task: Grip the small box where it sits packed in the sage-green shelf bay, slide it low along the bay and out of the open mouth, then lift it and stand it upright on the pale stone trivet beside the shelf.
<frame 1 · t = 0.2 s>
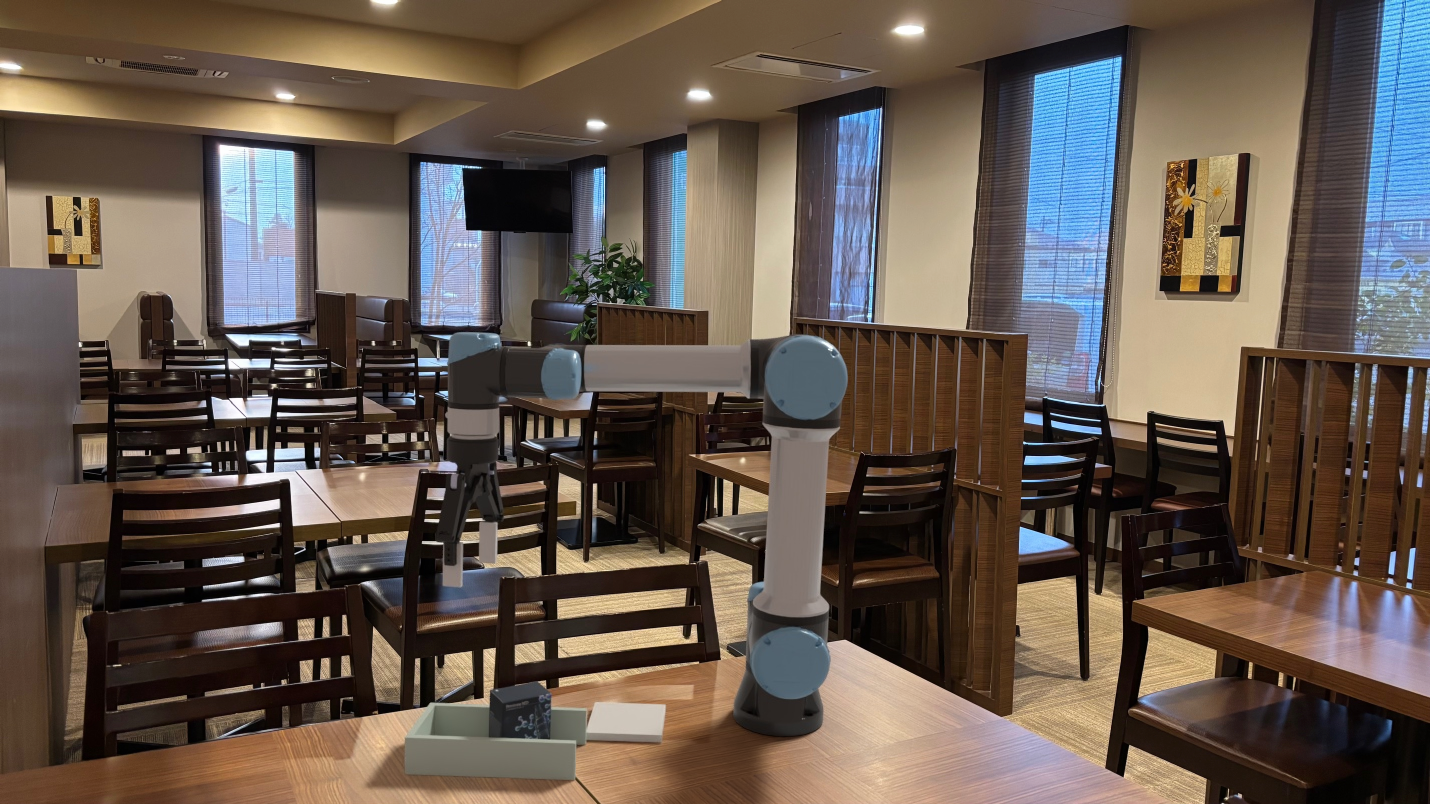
hand: (471, 574, 150), 27 cm above the table, fingers open, 13 cm apart
shelf bay: (499, 757, 148), on the table
box: (519, 759, 148), resting in shelf bay
trivet: (626, 724, 161), on the table
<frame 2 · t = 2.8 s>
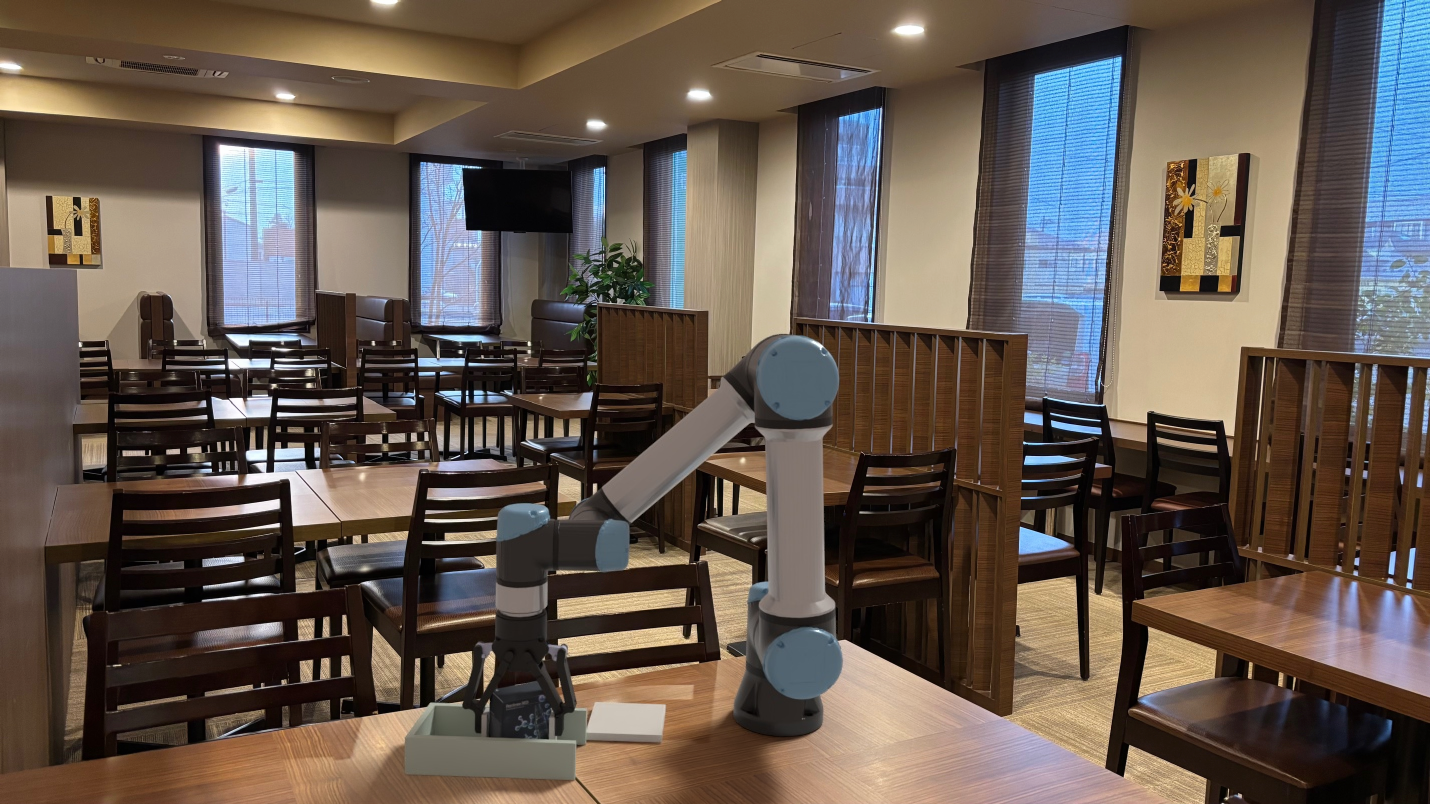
hand: (519, 754, 148), 1 cm above the table, fingers closed on box, 9 cm apart
box: (519, 759, 148), resting in shelf bay, touching gripper
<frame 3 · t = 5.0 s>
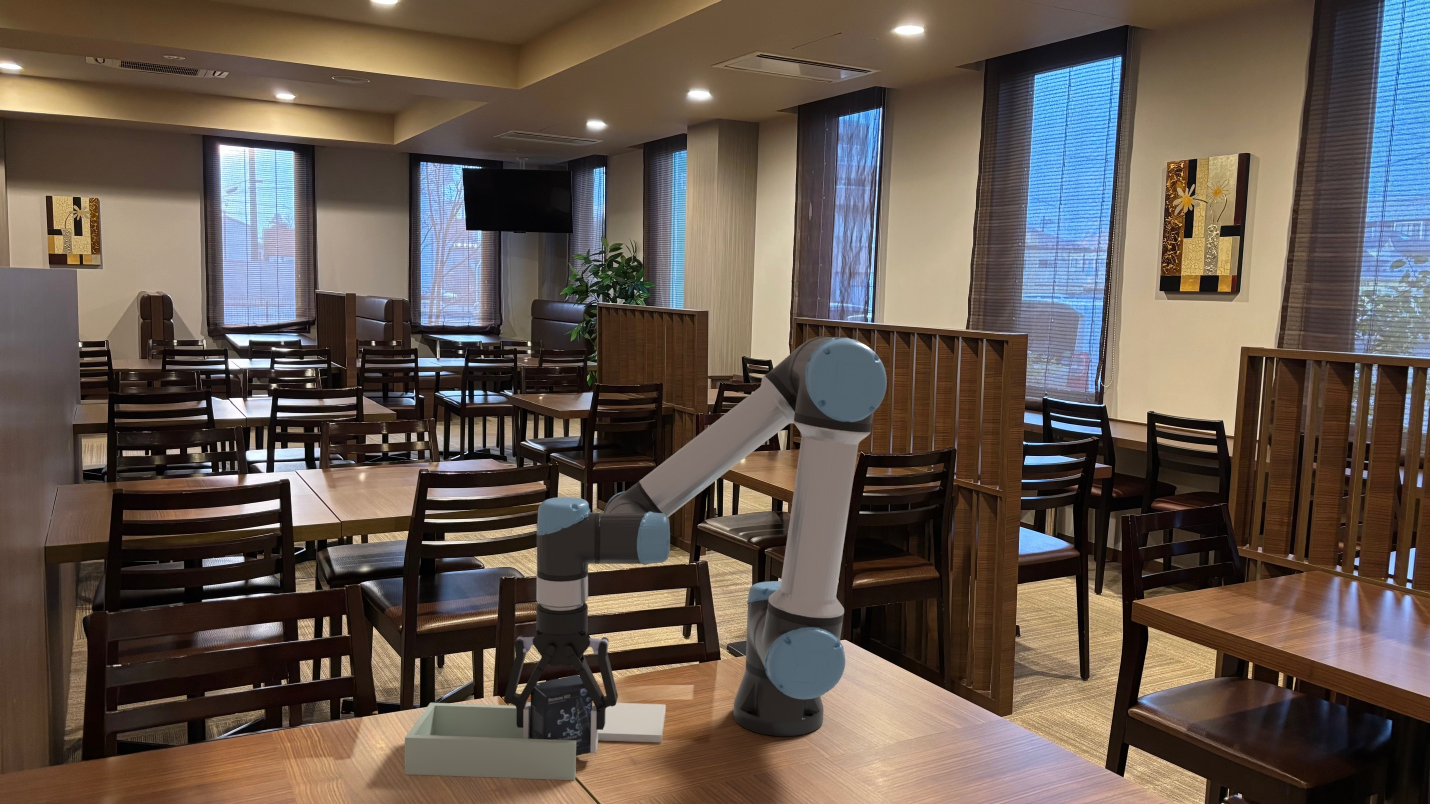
hand: (560, 748, 148), 2 cm above the table, fingers closed on box, 9 cm apart
box: (560, 753, 148), point 1 cm above the table, touching gripper
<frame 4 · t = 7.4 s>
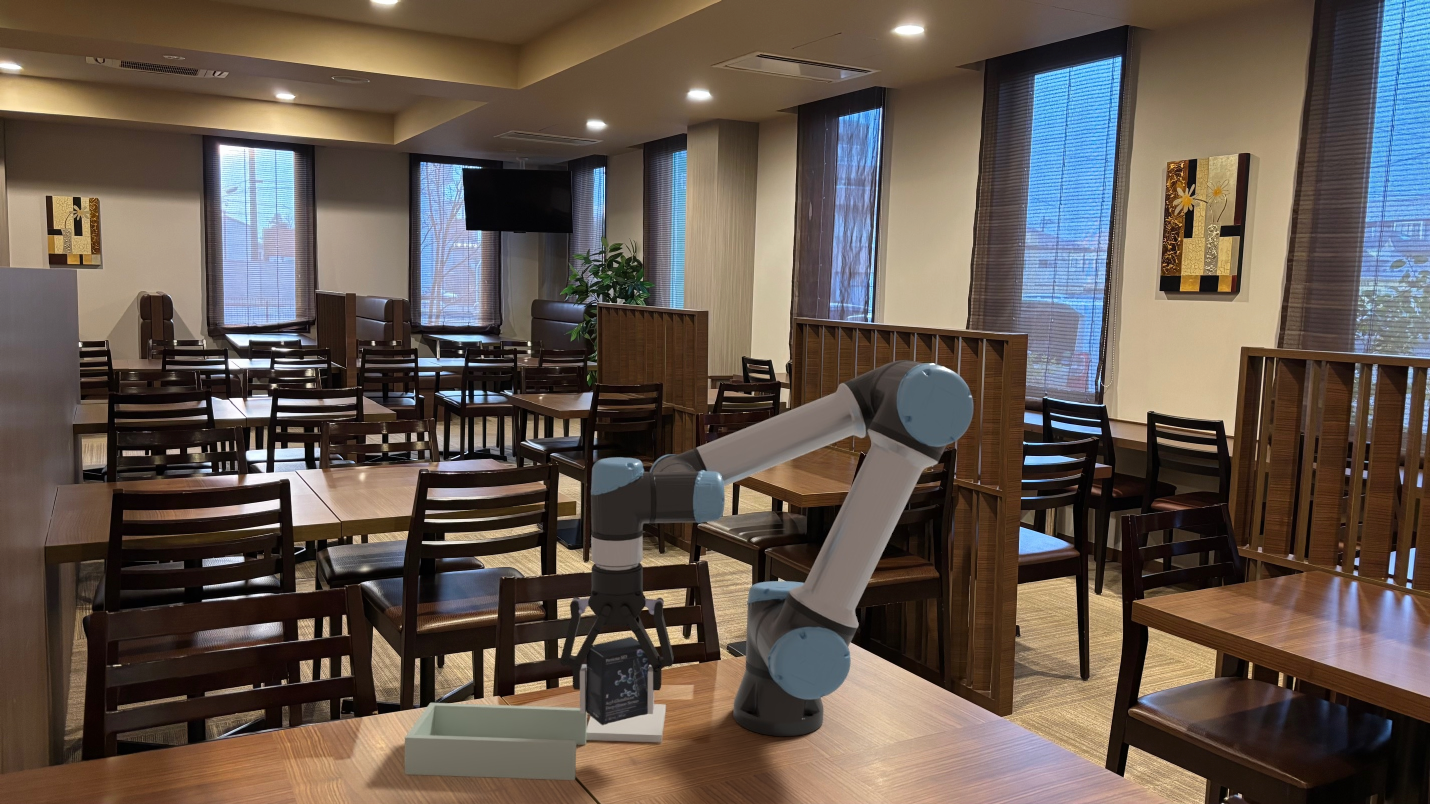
hand: (617, 709, 148), 8 cm above the table, fingers closed on box, 9 cm apart
box: (617, 715, 148), point 7 cm above the table, touching gripper
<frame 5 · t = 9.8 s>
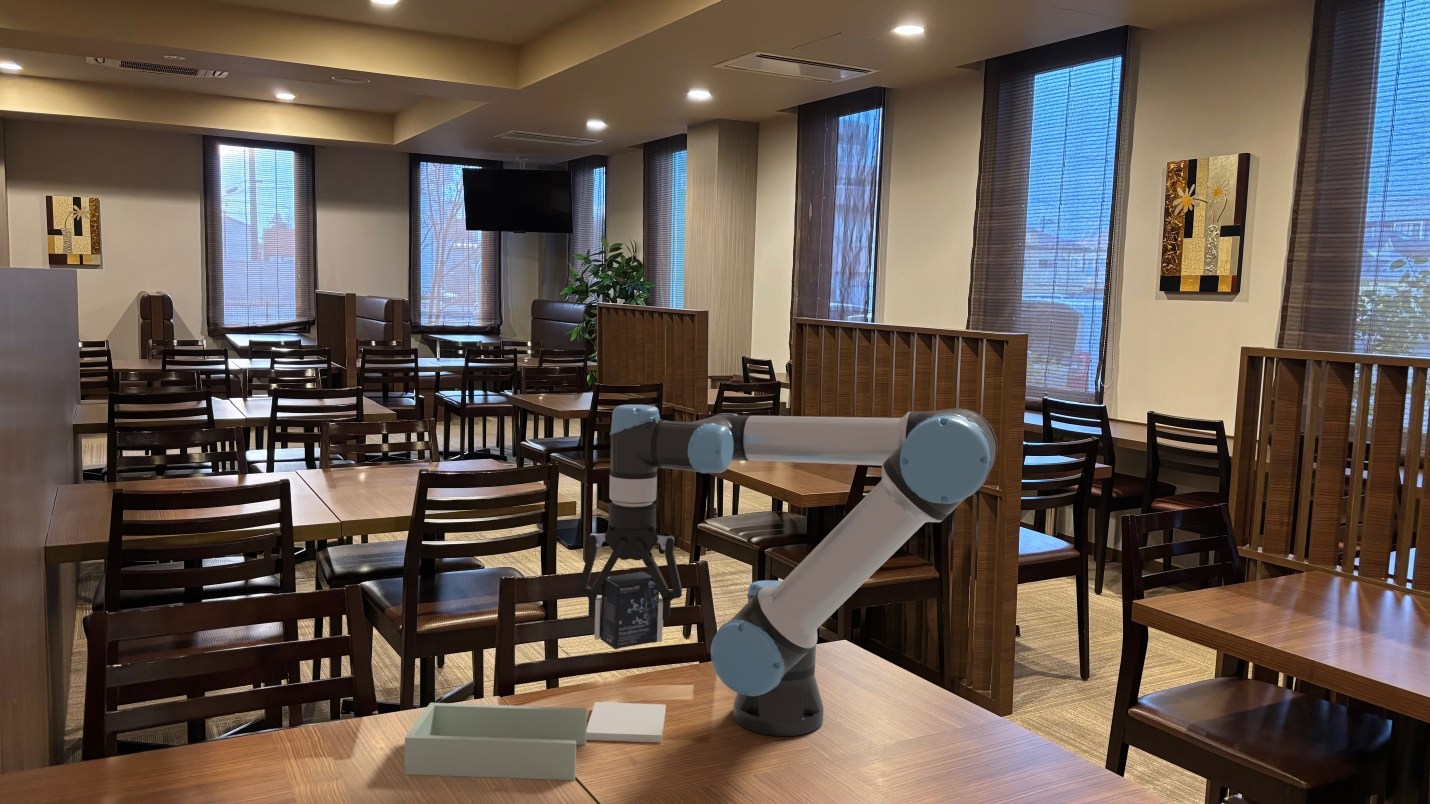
hand: (628, 637, 160), 15 cm above the table, fingers closed on box, 9 cm apart
box: (628, 642, 160), point 14 cm above the table, touching gripper
when the fingers open (4 cm above the table, at t = 12.2 s): box drops 2 cm, resting on trivet.
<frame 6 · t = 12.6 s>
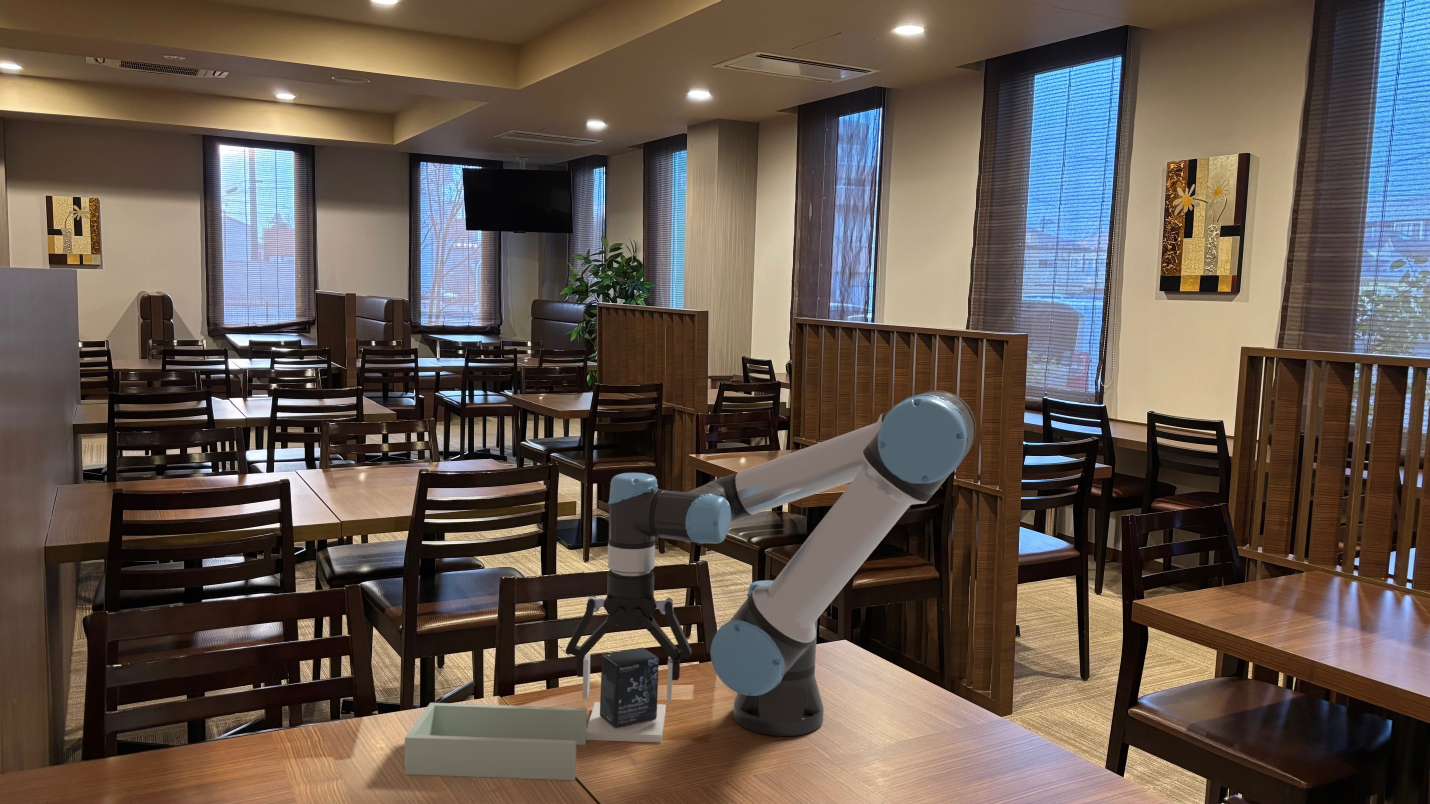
hand: (627, 697, 161), 5 cm above the table, fingers open, 13 cm apart
box: (628, 719, 161), point 1 cm above the table, touching trivet
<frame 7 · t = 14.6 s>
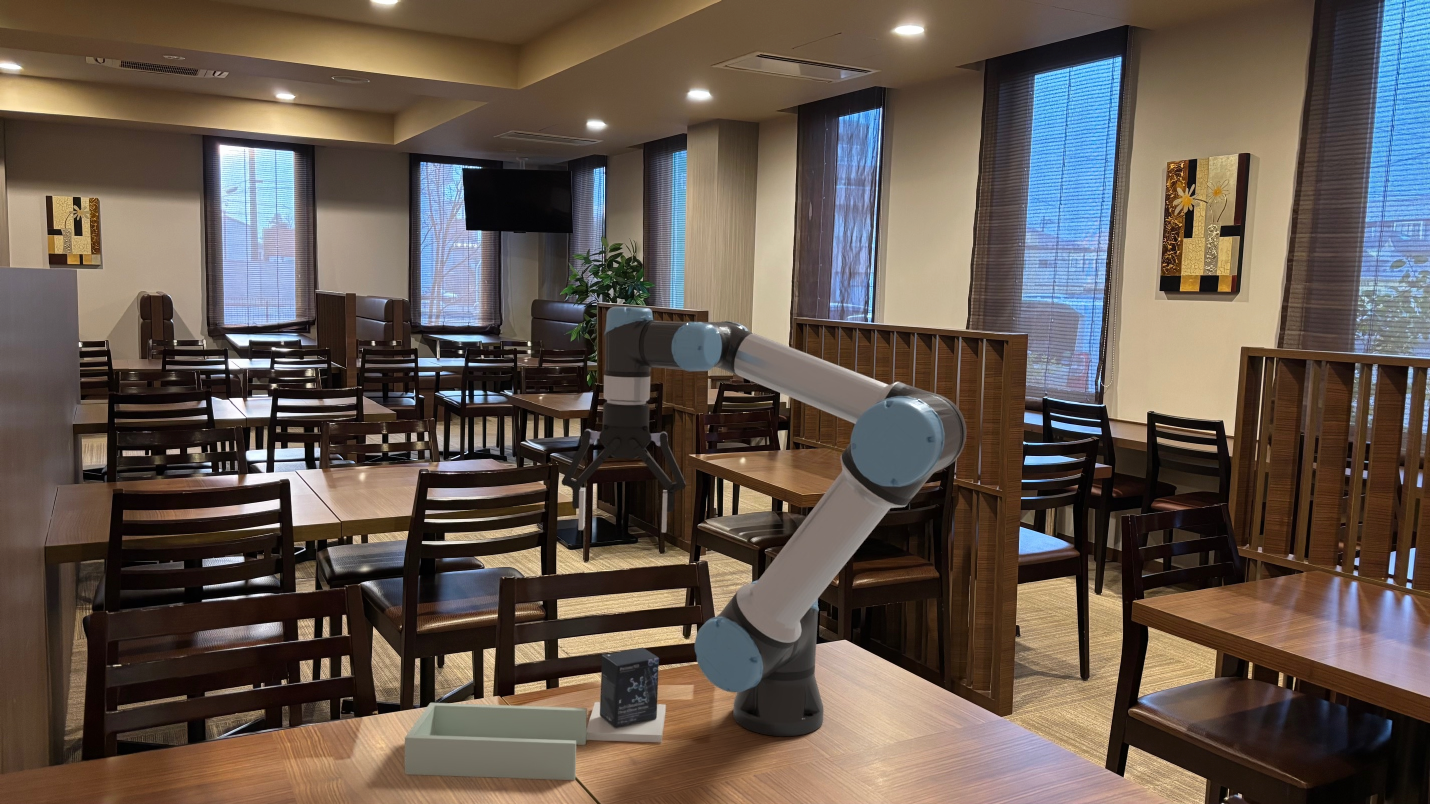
hand: (622, 529, 163), 31 cm above the table, fingers open, 13 cm apart
nothing on the table moved.
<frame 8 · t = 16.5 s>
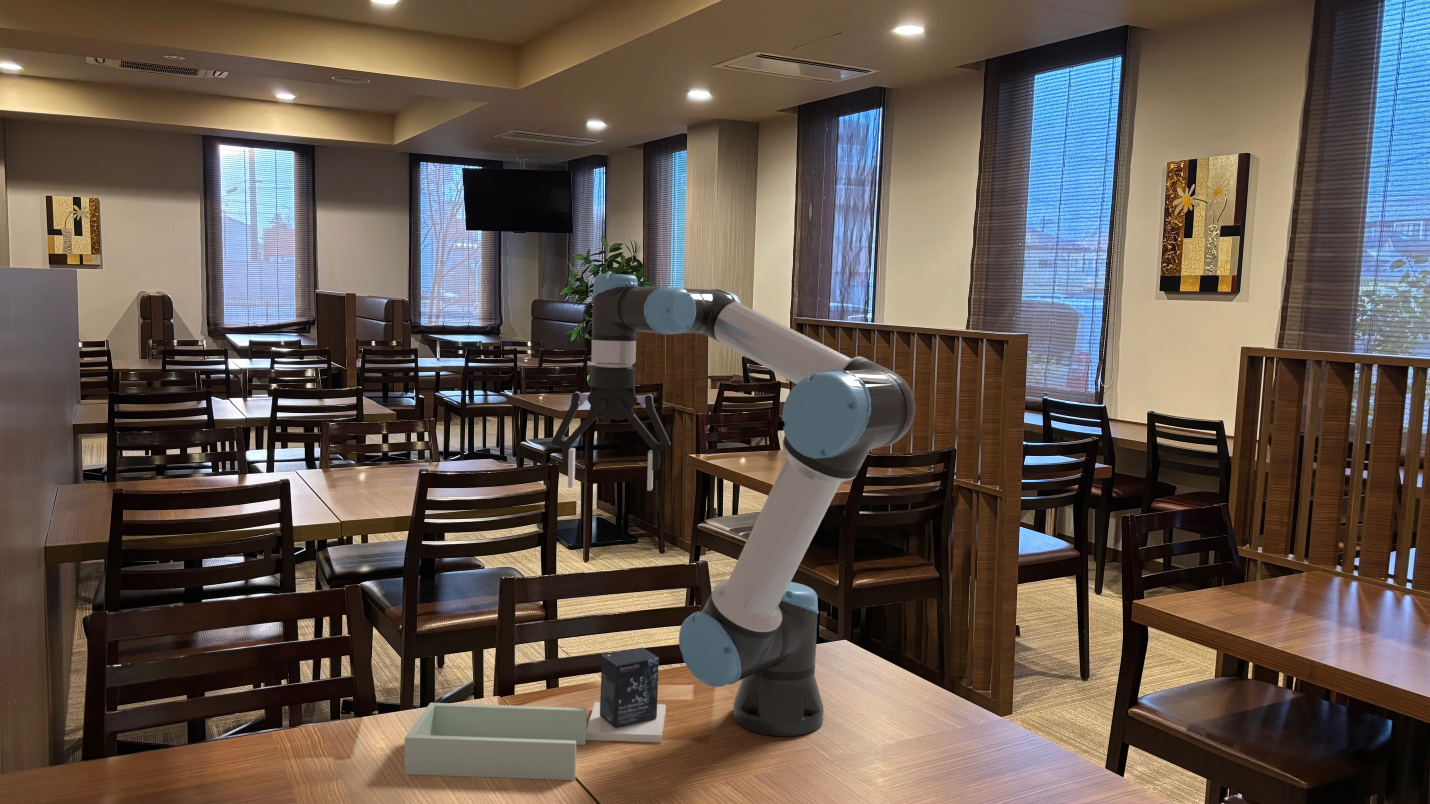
hand: (610, 488, 171), 37 cm above the table, fingers open, 13 cm apart
nothing on the table moved.
at the end: box 0.2 cm from the trivet (horizontally); box tilted 0°; box touching trivet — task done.
